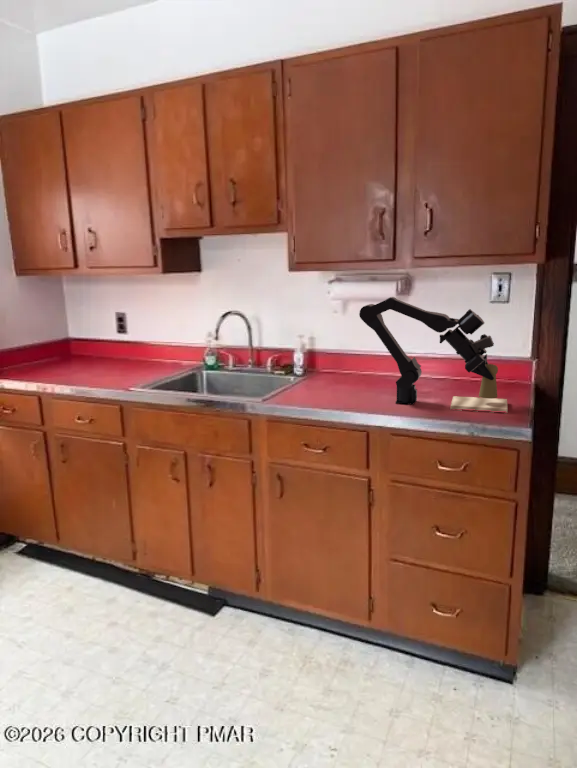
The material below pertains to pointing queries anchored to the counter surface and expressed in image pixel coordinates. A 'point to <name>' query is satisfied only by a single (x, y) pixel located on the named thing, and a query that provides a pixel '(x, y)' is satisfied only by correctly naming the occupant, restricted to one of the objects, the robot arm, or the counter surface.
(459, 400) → the birch board
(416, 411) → the counter surface
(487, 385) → the cork
